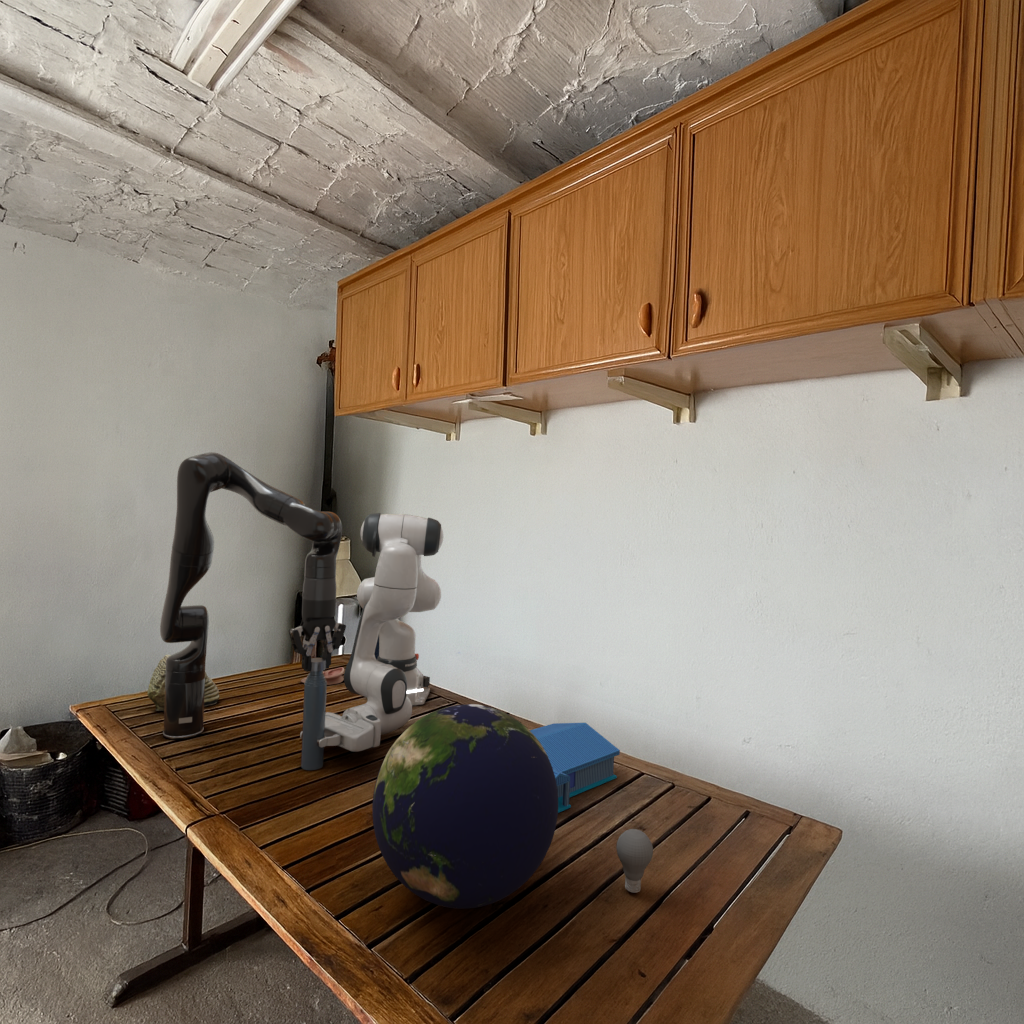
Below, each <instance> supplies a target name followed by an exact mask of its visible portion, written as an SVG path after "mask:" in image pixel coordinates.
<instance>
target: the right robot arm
mask: <svg viewBox="0 0 1024 1024" xmlns="http://www.w3.org/2000/svg"><path fill="white" fill-rule="evenodd" d="M360 539H361V542H362V546H363V547H364V548H365V550H366V551H367V552H369V553H371V555H372V557H373V558H376V555H377V553H379V557H378V560H377V563H376V568H375V574H374V576H373V577H367V578H363V580H361V582H360V584H359V585H358V587H357V590H356V600H357V603H358V604H359V606H360V607H361V609H362V610H361V613H360V616H359V621H358V624H357V629H356V633H355V637H354V642H353V646H352V649H351V653H350V657H349V659H348V661H347V663H346V666H345V668H344V673H343V678H344V680H343V681H344V682H343V683H344V686H345V688H346V690H347V691H348V692H350V693H351V694H354V695H357V696H361V697H364V698H366V699H367V700H366V702H365V703H363V704H360V705H355V706H352V707H349V708H347V709H345V710H344V711H343V713H342V715H339V714H338V713H335V712H330V711H326V716H325V737H321V738H318V739H317V746H319V747H324V748H325V747H334V746H335V747H336V746H337V747H340V748H342V749H344V750H347V751H350V752H352V753H354V752H355V753H357V752H362V751H365V750H368V749H371V748H377V747H379V746H380V745H381V738H382V737H381V736H383V735H387V734H389V733H392V732H395V731H397V730H399V729H401V728H402V727H404V726H405V725H406V724H407V723H408V722H409V721H410V720H411V717H412V716H413V715H412V714H413V706H422V705H425V703H426V700H427V699H428V697H429V694H430V693H431V688H430V685H431V684H430V683H431V677H430V676H427V675H424V673H423V672H421V670H420V669H419V668H418V660H419V658H420V654H419V653H416V637H417V635H416V631H415V629H414V628H413V627H412V626H411V625H409V624H407V623H406V622H404V621H401V620H400V618H403V617H404V616H406V615H407V614H409V613H423V612H428V611H429V612H430V611H434V610H435V609H436V608H437V607H438V606H439V604H440V602H441V599H442V589H441V587H440V584H439V583H438V581H436V579H433V578H431V577H430V576H429V575H428V574H427V573H426V572H425V571H424V569H423V567H422V556H423V557H431V556H435V555H436V554H438V553H439V551H440V548H441V547H442V545H443V543H444V530H443V527H442V523H441V522H440V521H439V520H437V519H435V518H433V517H423V516H419V515H413V514H408V513H407V514H406V513H401V514H399V513H381V512H374V513H369V514H368V515H367V516H366V517H365V518H364V520H363V522H362V525H361V527H360ZM377 643H378V644H379V645H378V648H379V649H378V655H377V658H376V655H375V652H376V648H377ZM299 738H300V739H301V740H302V730H301V731H300V733H299Z"/></svg>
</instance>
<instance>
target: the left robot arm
mask: <svg viewBox="0 0 1024 1024" xmlns="http://www.w3.org/2000/svg"><path fill="white" fill-rule="evenodd" d="M219 490H226V491H231V492H233V493H235V494H238V495H240V496H241V497H242V498H244V499H245V500H246V501H247V502H248V503H249V504H250V505H251V506H252V507H253V508H254V510H256V511H257V512H258V514H261V515H262V516H264V517H265V518H268V519H270V520H272V521H274V522H276V523H278V524H280V525H283V526H285V527H287V528H288V529H290V530H291V531H293V532H294V533H296V534H297V535H299V536H300V537H301V538H303V539H305V540H309V541H310V542H312V546H311V550H310V551H309V552H308V553H307V555H306V557H305V560H304V579H303V585H302V593H301V596H302V601H301V618H302V619H301V622H300V624H299V625H298V626H297V627H294V628H293V627H290V628H289V629H288V635H289V638H290V641H291V645H292V649H293V652H294V653H295V654H296V653H297V654H299V655H301V669H303V671H304V672H307V673H310V671H311V658H312V655H311V654H312V652H313V648H314V647H315V646H316V642H317V641H320V643H321V646H322V650H323V651H322V654H321V658H324V659H326V669H325V670H327V669H328V670H329V669H330V666H331V665H332V655H333V654H332V653H333V651H335V650H339V649H340V647H341V644H342V641H343V638H344V635H345V632H346V628H347V625H346V624H344V623H341V622H336V619H335V616H336V608H337V606H336V605H337V557H338V553H339V550H340V545H341V541H342V537H343V524H342V521H341V518H340V517H339V515H337V513H335V512H333V511H326V510H325V511H320V510H316V509H314V508H312V507H309V506H307V505H306V504H305V503H304V501H302V500H301V499H300V498H298V497H296V496H293V495H291V494H289V493H288V492H285V491H283V490H280V489H278V488H276V487H274V486H272V485H270V484H268V483H266V482H264V481H263V480H261V479H260V478H258V477H257V476H255V475H253V474H252V473H250V472H249V471H247V470H246V469H244V468H242V467H241V466H240V465H239V464H237V463H235V462H234V461H233V460H231V459H230V458H228V457H226V456H224V455H223V454H220V453H218V452H213V451H211V452H203V453H200V454H197V455H192V456H189V457H187V458H185V459H184V460H182V461H181V463H180V464H179V466H178V470H177V477H176V515H175V522H174V534H173V539H172V545H171V553H170V560H169V561H170V562H169V573H168V580H167V581H168V582H167V588H166V593H165V598H164V603H163V608H162V611H161V618H160V623H159V634H160V638H161V640H162V641H163V642H164V643H167V644H178V643H189V642H190V643H189V644H188V645H187V646H186V647H185V648H183V649H182V650H179V651H177V652H175V653H173V654H170V655H171V656H169V657H168V658H167V660H166V674H165V705H164V710H163V731H162V737H164V738H166V739H169V740H185V739H190V738H191V739H192V738H194V737H197V736H199V735H202V734H203V732H204V730H205V729H204V722H205V721H204V718H205V706H204V693H205V672H206V664H207V663H206V660H207V648H208V636H209V625H210V617H209V616H210V615H209V611H208V609H207V607H206V606H205V605H203V604H198V605H197V604H195V605H193V604H192V605H182V604H183V603H184V600H185V598H186V597H187V595H188V594H189V593H190V592H191V590H192V589H193V588H194V587H195V586H196V585H197V584H198V583H199V582H200V581H201V580H202V579H203V577H204V576H205V575H206V574H207V573H208V572H209V570H210V568H211V566H212V562H213V555H214V550H215V538H214V535H213V532H212V530H211V528H210V526H209V524H208V521H207V517H206V513H207V512H206V511H207V506H208V505H207V504H208V499H209V496H210V494H211V493H212V492H215V491H219ZM332 632H333V634H332ZM302 633H303V634H304V637H303V640H302V638H301V637H302Z"/></svg>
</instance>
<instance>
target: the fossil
mask: <svg viewBox="0 0 1024 1024" xmlns="http://www.w3.org/2000/svg"><path fill="white" fill-rule="evenodd" d="M171 655H172V654H165V655H164V656H163V657H162V658H161V659H160V660H159V662H158V663H157V666H156V667H155V669H154V670H153V672H152V675H151V677H150V680H149V684H148V688H147V697H148V699H149V700H150V701H152V703H153V704H154V706H155V711H158V712H159V711H162V712H163V711H164V705H165V674H166V660H167V658H168V657H169V656H171ZM220 698H221V696H220V690H219V688H218V686H217V685H216V683H215V682H214V681H213V679H212V678H211V677H209V675H208V674H207V672H206V671H205V693H204V707H207V706H213V705H215V704H217V703H218V701H219V699H220Z"/></svg>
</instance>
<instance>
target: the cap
mask: <svg viewBox="0 0 1024 1024" xmlns="http://www.w3.org/2000/svg"><path fill="white" fill-rule="evenodd" d="M326 670H327V669H326V659H324V658H322V657H311V671H323V672H324V671H326Z"/></svg>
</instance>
